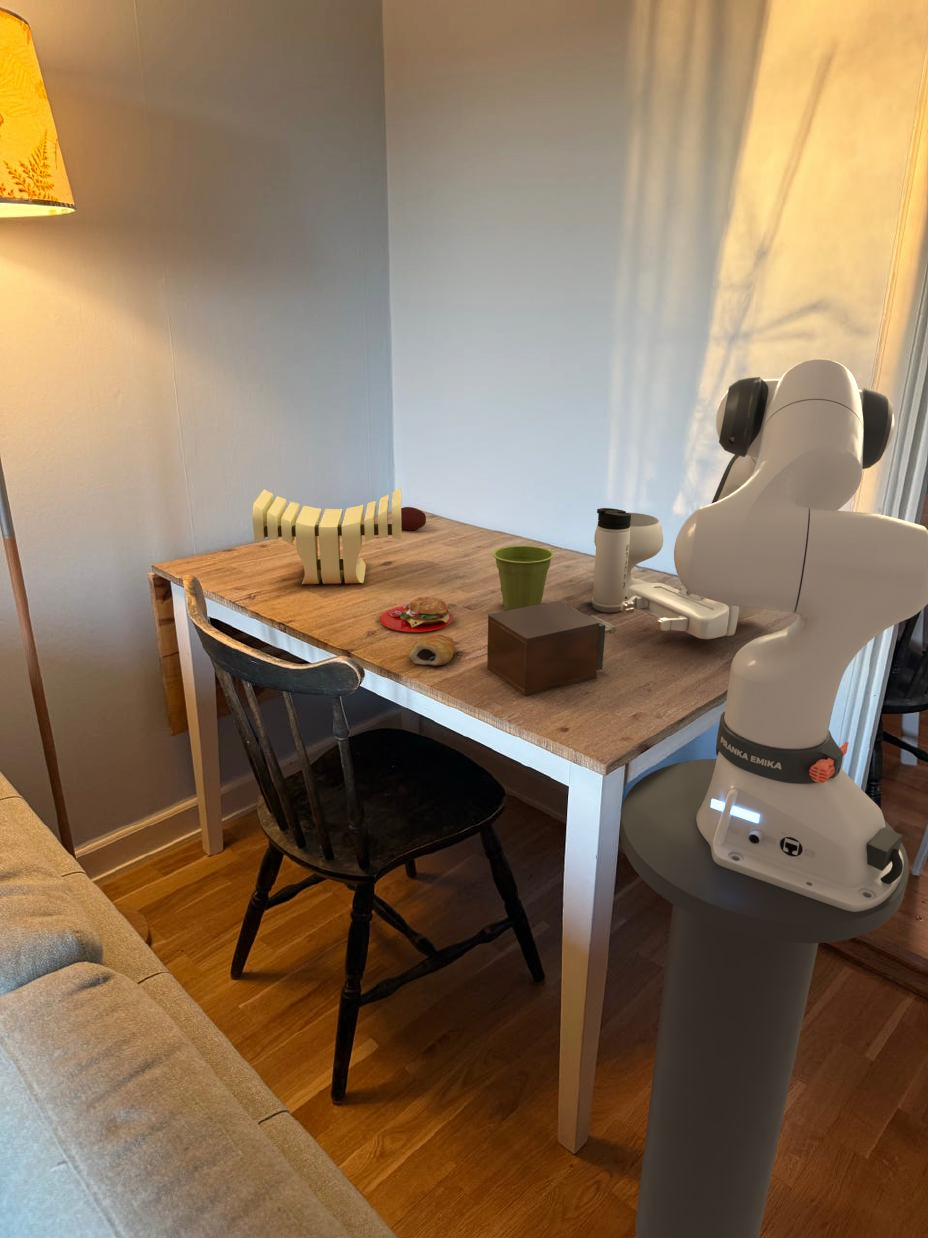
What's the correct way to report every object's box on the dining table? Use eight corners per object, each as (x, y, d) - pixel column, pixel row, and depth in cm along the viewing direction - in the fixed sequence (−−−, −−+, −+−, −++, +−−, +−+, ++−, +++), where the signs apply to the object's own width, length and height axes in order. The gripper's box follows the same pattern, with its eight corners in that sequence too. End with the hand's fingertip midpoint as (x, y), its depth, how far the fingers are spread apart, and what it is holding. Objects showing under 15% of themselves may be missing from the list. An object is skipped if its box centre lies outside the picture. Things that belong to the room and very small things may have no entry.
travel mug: (585, 604, 165) (591, 506, 158) (615, 600, 167) (622, 503, 160) (599, 614, 160) (605, 513, 152) (629, 611, 161) (637, 511, 154)
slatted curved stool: (259, 589, 173) (251, 506, 166) (270, 566, 187) (263, 489, 181) (402, 587, 174) (400, 504, 168) (403, 564, 189) (400, 487, 183)
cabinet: (554, 652, 143) (557, 600, 139) (596, 678, 133) (599, 622, 130) (487, 668, 136) (487, 614, 133) (525, 696, 127) (526, 638, 123)
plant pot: (556, 600, 167) (558, 547, 163) (545, 621, 156) (548, 564, 152) (499, 595, 170) (500, 542, 166) (485, 615, 159) (486, 559, 155)
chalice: (654, 603, 166) (661, 530, 160) (585, 595, 170) (589, 524, 164) (662, 582, 178) (668, 514, 172) (597, 575, 182) (602, 508, 177)
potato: (411, 524, 223) (411, 502, 221) (431, 530, 216) (431, 508, 214) (388, 528, 218) (388, 506, 216) (409, 535, 212) (408, 512, 210)
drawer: (585, 642, 144) (587, 600, 142) (623, 664, 136) (626, 620, 133) (503, 661, 137) (504, 617, 134) (538, 685, 128) (540, 639, 126)
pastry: (427, 643, 146) (427, 623, 145) (463, 648, 144) (464, 628, 143) (407, 664, 138) (407, 643, 136) (445, 670, 136) (445, 648, 134)
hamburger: (439, 603, 165) (438, 574, 163) (464, 627, 153) (464, 597, 151) (371, 612, 161) (370, 582, 158) (391, 638, 148) (390, 606, 146)
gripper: (663, 570, 155) (604, 581, 149) (746, 603, 138) (683, 617, 132) (660, 602, 157) (602, 614, 151) (741, 638, 141) (680, 653, 134)
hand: (641, 616), depth 141 cm, fingers open, 8 cm apart
